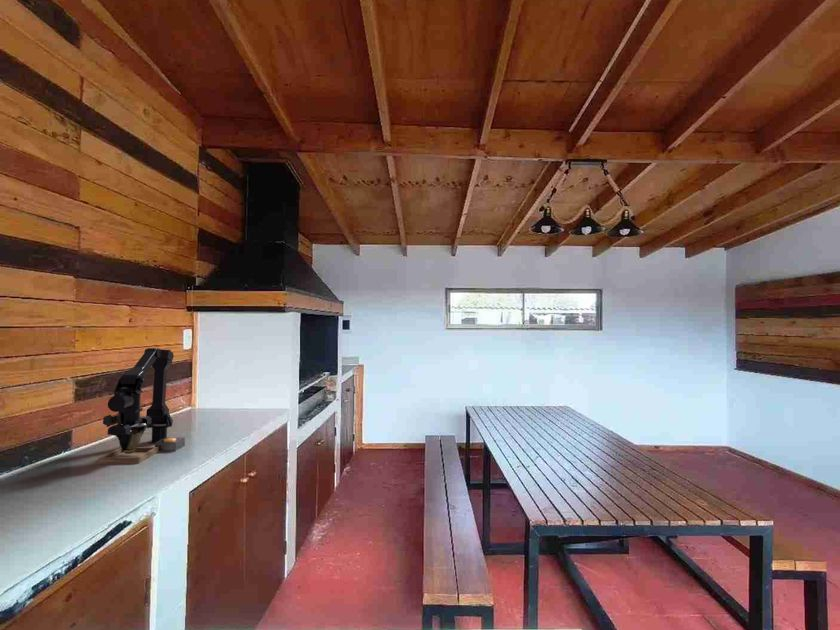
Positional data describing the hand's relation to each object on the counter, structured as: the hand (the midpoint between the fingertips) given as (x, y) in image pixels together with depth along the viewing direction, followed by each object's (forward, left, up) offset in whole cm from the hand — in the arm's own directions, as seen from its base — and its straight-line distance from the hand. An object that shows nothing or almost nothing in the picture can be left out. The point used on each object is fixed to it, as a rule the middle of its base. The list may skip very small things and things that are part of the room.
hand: (130, 447), depth 162 cm
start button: (-12, +9, -2) cm, 15 cm away
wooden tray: (0, 0, -4) cm, 4 cm away
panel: (-12, +9, -4) cm, 15 cm away
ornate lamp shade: (0, 0, -2) cm, 2 cm away
